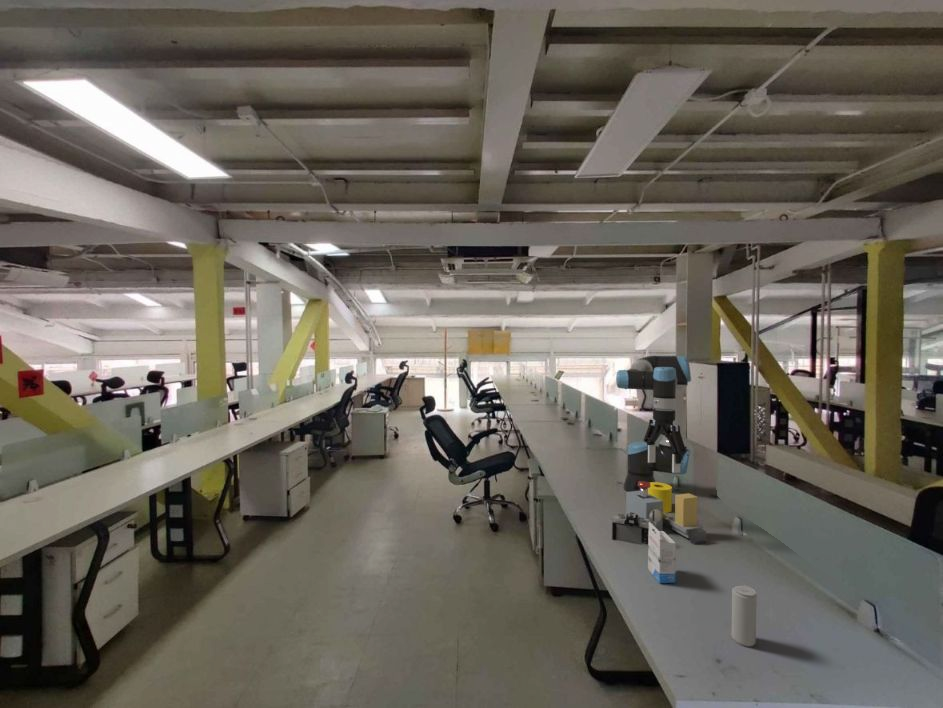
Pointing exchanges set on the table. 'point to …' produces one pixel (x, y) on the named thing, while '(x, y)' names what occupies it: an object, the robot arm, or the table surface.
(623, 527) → the camera
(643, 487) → the plunger
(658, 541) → the ink box
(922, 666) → the table surface
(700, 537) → the rail
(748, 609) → the beverage can
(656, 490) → the tape roll
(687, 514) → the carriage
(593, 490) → the table surface
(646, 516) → the gauge cabinet
